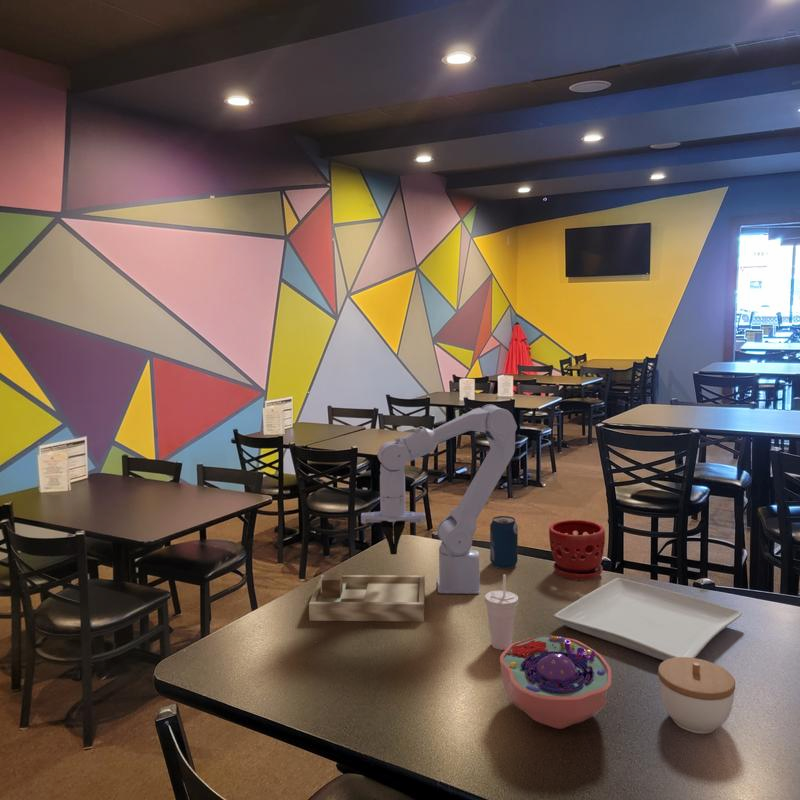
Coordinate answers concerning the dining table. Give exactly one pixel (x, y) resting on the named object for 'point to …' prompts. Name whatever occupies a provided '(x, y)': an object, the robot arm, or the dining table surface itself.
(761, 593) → the dining table surface
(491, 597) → the smoothie
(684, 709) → the lidded jar
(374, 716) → the dining table surface
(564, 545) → the plant pot
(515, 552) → the soda can
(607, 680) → the cell model
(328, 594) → the walnut block
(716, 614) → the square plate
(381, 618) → the box
